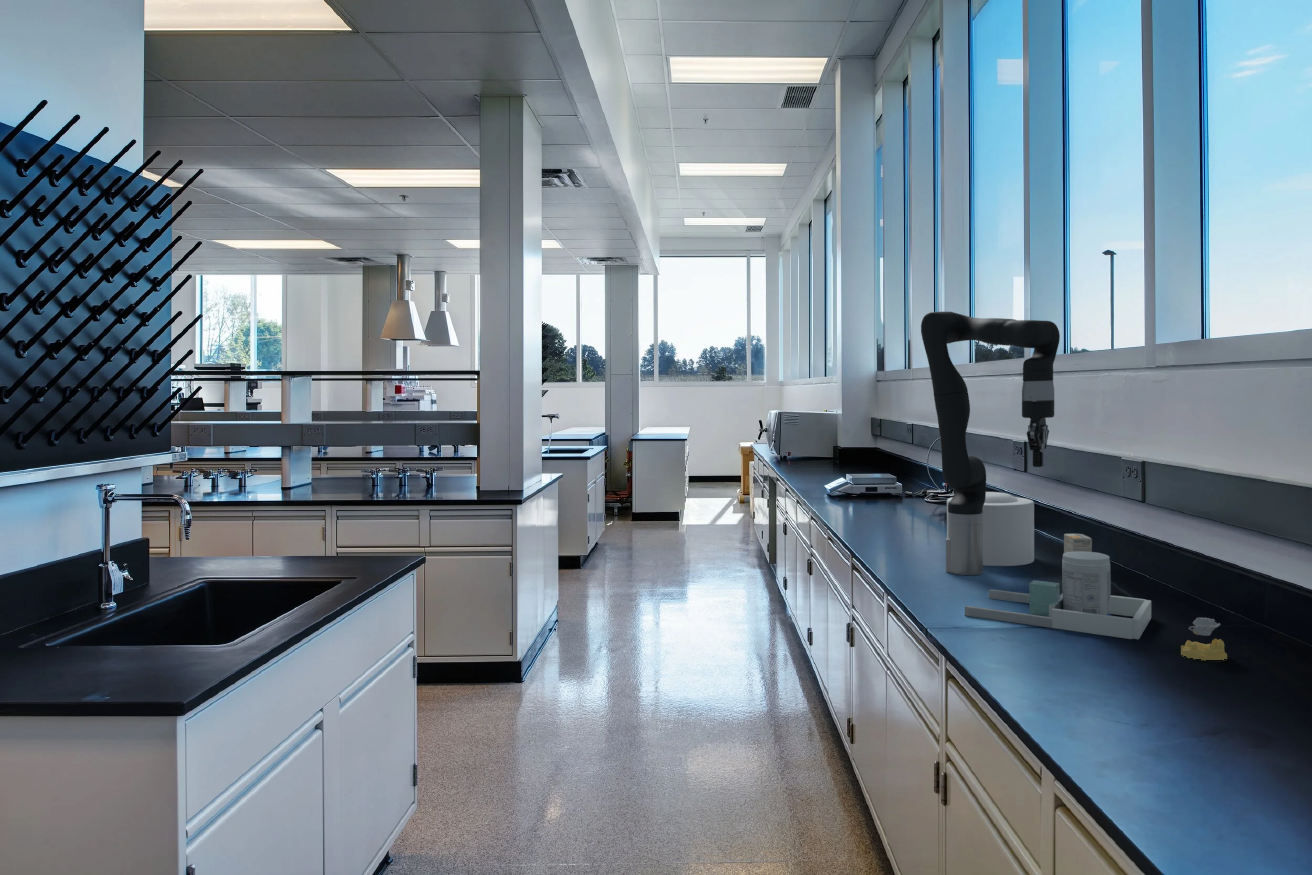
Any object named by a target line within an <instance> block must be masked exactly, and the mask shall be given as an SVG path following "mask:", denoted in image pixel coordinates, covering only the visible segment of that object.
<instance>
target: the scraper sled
mask: <svg viewBox="0 0 1312 875" xmlns="http://www.w3.org/2000/svg"><path fill="white" fill-rule="evenodd" d="M1028 585H1029V586H1028V587H1029V589H1028V591H1029V593H1028V594H1029V603H1028V605H1029V606H1028V607H1029V610H1028V611H1029V613H1028V614H1031V615H1039V616H1046V617H1052V609H1053V608H1054V609H1062V610H1063V595H1062V593H1061V594H1060V589H1061V588H1060V586H1061V585H1060V582H1051V581H1046V580H1045V581H1044V580H1042V581H1041V580H1032V581H1031V582H1029V584H1028Z"/></svg>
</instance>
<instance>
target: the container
mask: <svg viewBox="0 0 1312 875" xmlns="http://www.w3.org/2000/svg"><path fill="white" fill-rule="evenodd" d="M952 498H953V496H951V497H949V498H947V500H946V539H947V538H948V503H949V502H950V501H951V499H952ZM982 513H983V566H988V567H989V566H990V567H991V566H992V567H1011V566H1012V567H1014V566H1024V565H1028V564H1032V563H1033V562H1035V502H1034V501H1033V500H1032V499H1029V498H1025V497H1018V496H1014V495H1012V494H1010V493H1006V492H1000V491H999V492H997V491H986V497H985V503H984V505H983V512H982Z"/></svg>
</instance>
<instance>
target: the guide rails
mask: <svg viewBox="0 0 1312 875" xmlns="http://www.w3.org/2000/svg"><path fill="white" fill-rule="evenodd" d="M988 599H993V600H1001V601H1007V602H1015V603H1016V602H1017V603H1025V604H1029V593H1023V592H1017V591H1016V592H1015V591H1008V590H999V589H990V588H989V590H988ZM964 616H967V617H975V618H980V619H986V620H987V619H988V620H994V621H1002V622H1007V623H1009V622H1010V623H1015V624H1016V623H1017V624H1021V625H1022V624H1023V625H1030V626H1036V627H1042V628H1043V627H1044V628H1051V629H1053V628H1052V617H1049V616H1042V615H1035V614H1029V613H1025V612H1023V613H1022V612H1014V611H1008V610H1001V609H994V608H987V607H986V608H985V607H980V606H971V605H965V606H964Z"/></svg>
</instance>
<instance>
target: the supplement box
mask: <svg viewBox="0 0 1312 875" xmlns="http://www.w3.org/2000/svg"><path fill="white" fill-rule="evenodd" d="M1092 550H1093V539H1092V538H1091V537H1090V536H1088V535H1085V534H1083V533H1064V534H1063V554H1064V553H1066V552H1074V551H1085V552H1093V551H1092Z"/></svg>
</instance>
